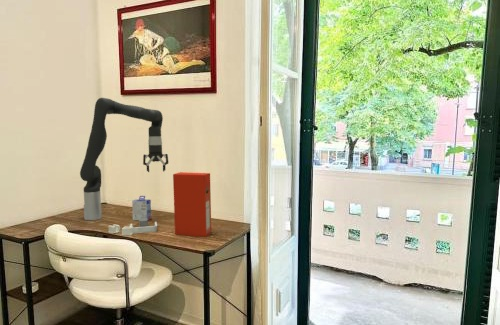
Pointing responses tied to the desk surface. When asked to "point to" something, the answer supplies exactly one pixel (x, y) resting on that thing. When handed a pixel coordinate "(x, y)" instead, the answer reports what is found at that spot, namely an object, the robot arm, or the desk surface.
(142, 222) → the connector
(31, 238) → the desk surface
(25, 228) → the desk surface
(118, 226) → the clip
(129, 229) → the clip
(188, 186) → the file binder
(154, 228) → the bracket
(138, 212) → the ink cartridge box
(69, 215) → the desk surface
